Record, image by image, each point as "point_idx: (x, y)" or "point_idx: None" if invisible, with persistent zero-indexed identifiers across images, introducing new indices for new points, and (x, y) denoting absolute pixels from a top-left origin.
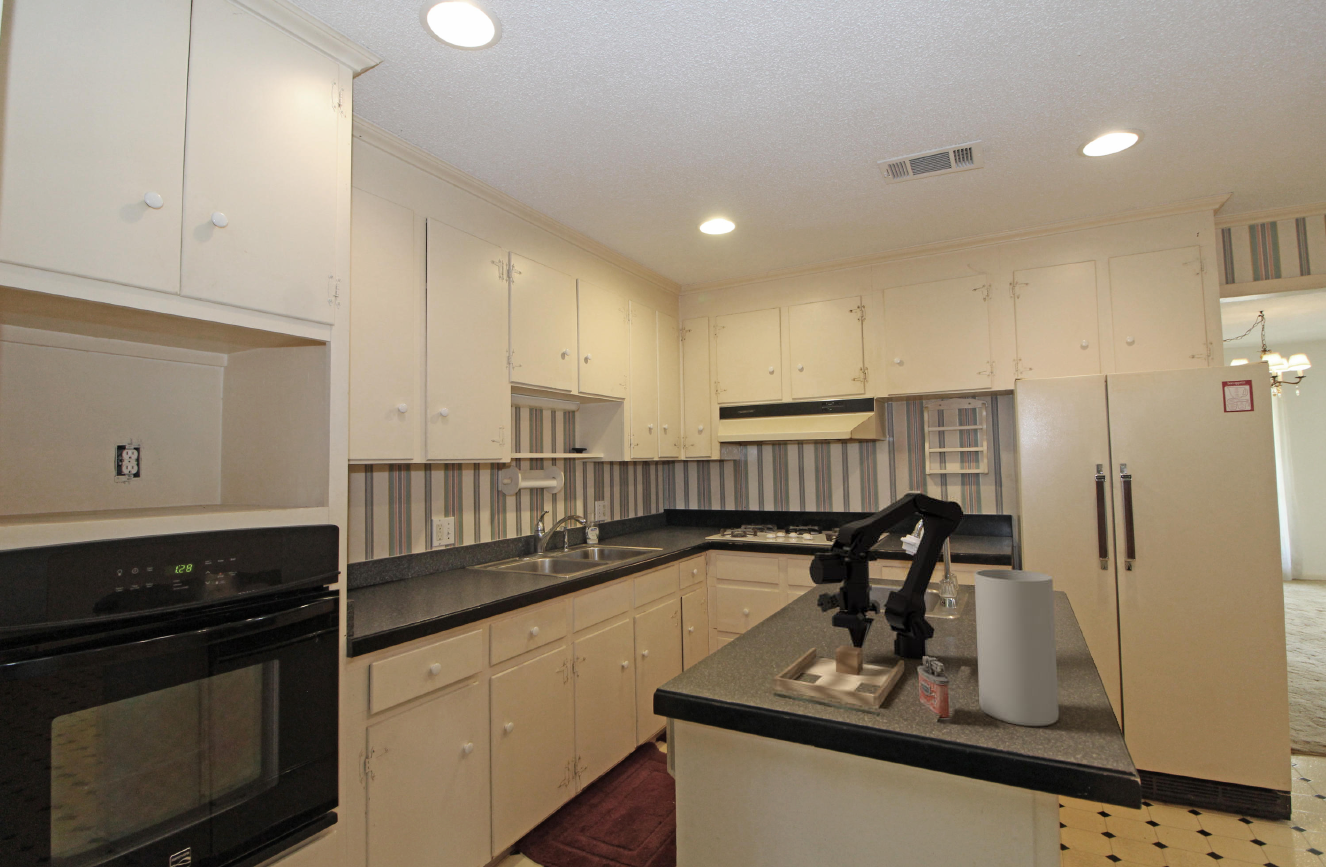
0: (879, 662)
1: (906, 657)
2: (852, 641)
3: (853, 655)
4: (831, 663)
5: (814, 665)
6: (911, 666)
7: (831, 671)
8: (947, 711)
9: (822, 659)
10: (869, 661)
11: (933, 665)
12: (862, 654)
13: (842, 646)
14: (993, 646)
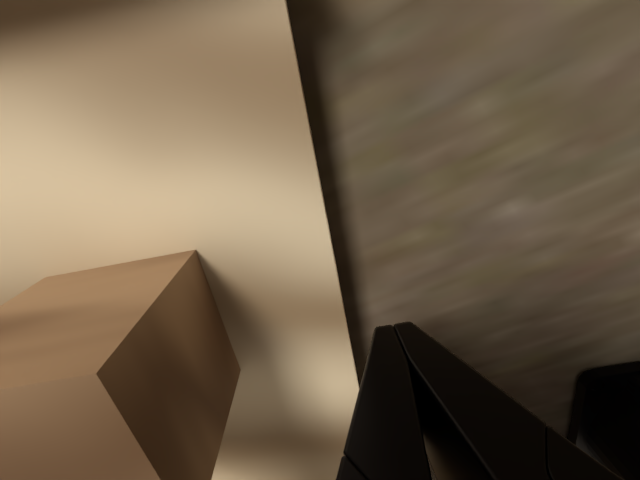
0: (565, 302)
1: (613, 444)
2: (354, 409)
3: None
4: (190, 152)
5: (2, 52)
6: (562, 427)
7: (22, 248)
8: None
9: (229, 13)
10: (561, 252)
11: None
12: (212, 471)
13: (62, 402)
14: None
